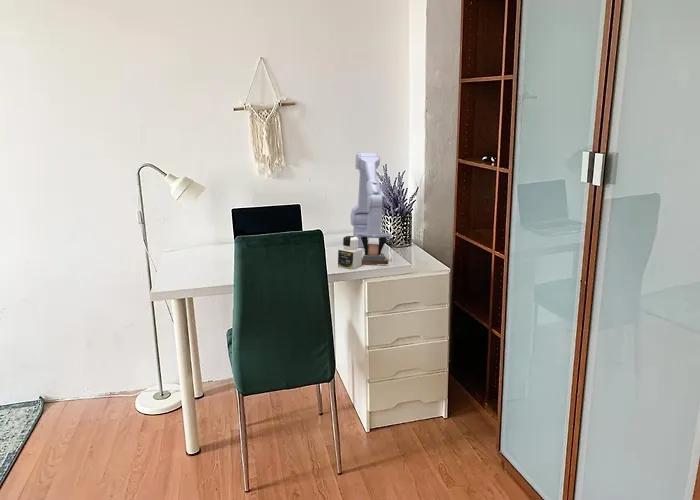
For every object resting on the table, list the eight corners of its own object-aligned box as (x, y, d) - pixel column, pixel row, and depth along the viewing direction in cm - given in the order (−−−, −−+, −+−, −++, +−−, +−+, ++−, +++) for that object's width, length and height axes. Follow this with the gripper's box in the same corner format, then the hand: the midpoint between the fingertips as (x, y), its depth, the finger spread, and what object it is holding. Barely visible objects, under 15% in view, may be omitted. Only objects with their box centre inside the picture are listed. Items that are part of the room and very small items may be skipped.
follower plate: (363, 261, 244) (363, 255, 243) (383, 261, 244) (383, 255, 244) (363, 261, 243) (363, 255, 242) (383, 262, 243) (383, 256, 243)
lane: (357, 256, 252) (357, 251, 252) (382, 256, 253) (383, 252, 253) (361, 264, 239) (361, 260, 238) (387, 265, 240) (388, 260, 239)
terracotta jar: (365, 257, 249) (366, 243, 247) (377, 257, 249) (378, 243, 248) (367, 260, 244) (367, 246, 242) (379, 260, 244) (379, 246, 243)
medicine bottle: (337, 266, 235) (338, 236, 232) (347, 262, 241) (348, 234, 238) (352, 269, 231) (353, 239, 229) (361, 265, 237) (363, 236, 235)
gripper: (357, 224, 238) (356, 256, 241) (393, 225, 240) (391, 257, 243) (356, 221, 245) (354, 252, 248) (390, 222, 246) (388, 253, 250)
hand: (372, 254), depth 246 cm, fingers closed on terracotta jar, 5 cm apart
